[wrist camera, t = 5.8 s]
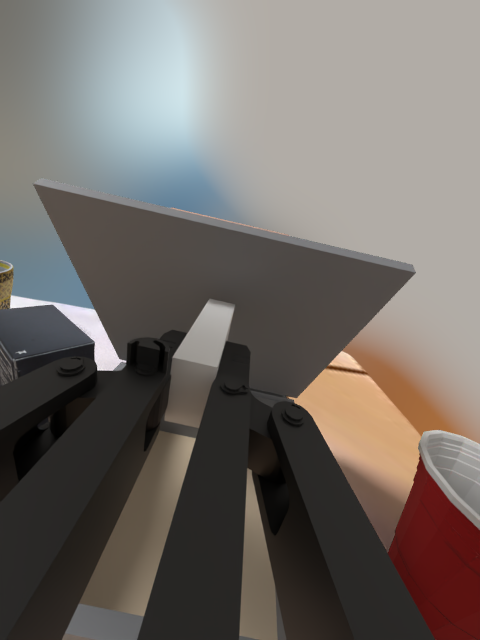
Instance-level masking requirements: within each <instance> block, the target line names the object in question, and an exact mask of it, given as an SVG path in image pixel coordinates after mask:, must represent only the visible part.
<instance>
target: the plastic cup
mask: <svg viewBox="0 0 480 640" xmlns="http://www.w3.org/2000/svg"><path fill="white" fill-rule="evenodd" d="M418 449H419V452H420V457H419V460H420V461H419V463H418V466H417V472H416V475H415V477H414V484H413V486H412V489H411V491H410V494H409V497H408V499H407V502H406V504H405V507H404V509H403V512H402V515H401V517H400V520H399V522H398V525H397V527H396V530H395V537H394V539H393V541H392V544H391V547H390V549H389V552H388V555H389V557H390V559H391V561H392V562H393V564H394V566H395V568H396V570H397V571H398V573H399V575H400V577H401V579H402V580H403V582H404V584H405V586H406V588H407V589H408V591H409V593H410V595H411V597H412V598H413V600H414V602H415V604H416V606H417V607H418V609H419V611H420V613H421V615H422V617H423V618H424V620H425V622H426V624H427V626H428V627H429V629H430V631H431V633H432V635H433V636H434V638H435V640H480V444H479V443H476V442H474V441H472V440H470V439H468V438H465V437H463V436H460V435H456V434H453V433H449V432H445V431H441V430H434V431H426V432H424V433H423V435H422V437H421V440H420V442H419V446H418Z"/></svg>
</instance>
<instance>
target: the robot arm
mask: <svg viewBox="0 0 480 640" xmlns="http://www.w3.org/2000/svg"><path fill="white" fill-rule="evenodd" d="M234 308H235V304H231V303H227V302H223V301H218V300H214V299H209V300H208V302H207V304H206V305H205V307H204V308H203V310H202V311H201V313H200V315H199V316H198V318H197V319H196V321H195V322H194V324H193V326H192V327H191V329H190V330H189V332H188V333H185V332H181V331H176V330H171V331H168V332H166V333H164V334H163V335H162V336H161V338H160V339H157V338H150V337H144V338H137V339H133V340H131V341H130V342H128V343H127V362H126V366H125V367H124V368H123V369H122V370H120V371H97V365H96V363H95V361H93V360H92V359H90V358H86V357H79V356H78V357H77V356H72V357H66V358H62V359H59V360H56V361H53V362H51V363H49V364H47V365H45V366H43V367H41V368H38V369H36V370H34V371H32V372H30V373H28V374H26V375H24V376H21V377H19V378H17V379H15V380H13V381H11V382H9V383H6V384H4V385H2V386H0V640H62V639H63V636H64V634H65V632H66V630H67V628H68V626H69V624H70V621H71V619H72V617H73V615H74V613H75V611H76V609H77V607H78V604H79V602H80V600H81V598H82V596H83V594H84V592H85V589H86V587H87V585H88V583H89V581H90V579H91V577H92V574H93V572H94V570H95V568H96V566H97V564H98V562H99V559H100V557H101V555H102V553H103V551H104V549H105V547H106V545H107V542H108V540H109V538H110V536H111V534H112V532H113V530H114V527H115V525H116V523H117V521H118V519H119V517H120V515H121V512H122V510H123V508H124V506H125V504H126V502H127V500H128V498H129V495H130V493H131V491H132V489H133V487H134V485H135V483H136V480H137V478H138V476H139V474H140V472H141V470H142V468H143V465H144V463H145V461H146V459H147V457H148V455H149V453H150V450H151V448H152V446H153V444H154V442H155V440H156V438H157V436H158V433H159V430H160V423H161V419H162V417H163V415H164V413H165V419H164V421H169V422H173V423H178V424H182V425H187V426H191V427H196V428H199V429H198V433H197V436H196V440H195V443H194V447H193V450H192V453H191V457H190V460H189V464H188V467H187V470H186V474H185V477H184V481H183V484H182V488H181V491H180V494H179V498H178V501H177V505H176V508H175V511H174V515H173V518H172V522H171V525H170V529H169V532H168V535H167V539H166V542H165V546H164V549H163V552H162V556H161V559H160V563H159V566H158V570H157V573H156V576H155V580H154V583H153V587H152V590H151V594H150V597H149V600H148V604H147V607H146V611H145V614H144V617H143V621H142V624H141V628H140V631H139V635H138V638H137V640H239V633H240V612H241V591H242V571H243V550H244V529H245V508H246V488H247V468H248V469H250V470H252V478H253V483H254V487H255V492H256V497H257V502H258V507H259V511H260V516H261V521H262V526H263V530H264V535H265V540H266V545H267V549H268V554H269V559H270V564H271V568H272V573H273V578H274V583H275V587H276V592H277V597H278V602H279V607H280V611H281V616H282V621H283V626H284V630H285V635H286V640H435V638H434V636H433V635H432V633H431V631H430V629H429V627H428V626H427V624H426V622H425V620H424V618H423V617H422V615H421V613H420V611H419V609H418V607H417V606H416V604H415V602H414V600H413V598H412V597H411V595H410V593H409V591H408V589H407V588H406V586H405V584H404V582H403V580H402V579H401V577H400V575H399V573H398V571H397V570H396V568H395V566H394V564H393V562H392V561H391V559H390V557H389V555H388V553H387V551H386V550H385V548H384V546H383V544H382V542H381V541H380V539H379V537H378V535H377V533H376V532H375V530H374V528H373V526H372V524H371V523H370V521H369V519H368V517H367V515H366V514H365V512H364V510H363V508H362V506H361V504H360V503H359V501H358V499H357V497H356V495H355V494H354V492H353V490H352V488H351V486H350V485H349V483H348V481H347V479H346V477H345V476H344V474H343V472H342V470H341V468H340V467H339V465H338V463H337V461H336V459H335V458H334V456H333V454H332V452H331V450H330V448H329V447H328V445H327V443H326V441H325V439H324V438H323V436H322V434H321V432H320V430H319V429H318V427H317V425H316V423H315V421H314V420H313V418H312V416H311V415H310V414H309V413H308V411H307V410H305V409H304V408H303V407H301V406H300V405H297V404H295V403H293V402H288V401H282V402H278V403H276V404H274V406H273V408H272V407H270V406H268V405H266V404H264V403H262V402H261V401H259V400H258V399H256V398H255V397H254V396H253V395H252V393H251V390H250V387H249V372H250V355H251V352H250V350H249V349H248V347H247V346H246V345H242V344H237V343H233V342H228V341H227V340H228V335H229V331H230V326H231V322H232V317H233V313H234ZM46 418H48V421H49V422H47V423H46V424H44V425H42V426H40V427H38V426H37V424H39V423H40V422H42V421H43V420H45V419H46Z"/></svg>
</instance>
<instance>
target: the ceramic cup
mask: <svg viewBox="0 0 480 640" xmlns="http://www.w3.org/2000/svg"><path fill="white" fill-rule="evenodd" d="M12 286H13V266H12V264H10V263H8V262H5V261H2V260H0V309H10V298H11V292H12Z"/></svg>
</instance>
